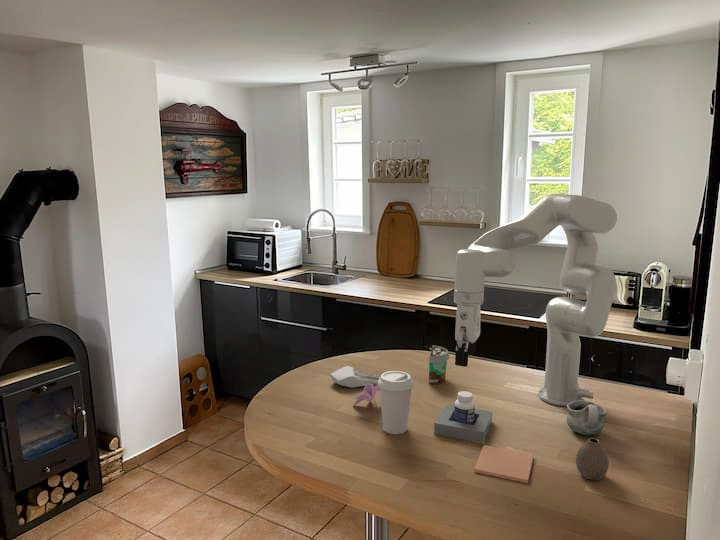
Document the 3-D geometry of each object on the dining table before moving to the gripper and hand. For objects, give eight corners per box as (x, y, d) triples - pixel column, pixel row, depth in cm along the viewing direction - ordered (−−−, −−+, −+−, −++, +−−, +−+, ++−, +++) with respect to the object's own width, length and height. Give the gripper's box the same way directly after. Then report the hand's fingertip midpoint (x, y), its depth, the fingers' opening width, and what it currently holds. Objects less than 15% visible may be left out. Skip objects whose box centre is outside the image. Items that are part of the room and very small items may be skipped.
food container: (447, 387, 175) (448, 358, 174) (428, 386, 177) (429, 356, 175) (449, 373, 187) (450, 346, 186) (431, 372, 189) (432, 344, 187)
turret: (390, 395, 175) (393, 381, 175) (329, 388, 173) (332, 374, 172) (386, 383, 185) (388, 370, 184) (328, 376, 183) (330, 363, 182)
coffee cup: (388, 440, 141) (389, 385, 138) (370, 425, 149) (371, 373, 147) (419, 432, 145) (420, 379, 143) (400, 418, 154) (401, 367, 151)
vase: (569, 468, 128) (572, 433, 127) (597, 467, 129) (600, 432, 127) (583, 484, 121) (586, 448, 120) (613, 483, 122) (616, 447, 120)
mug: (595, 423, 151) (598, 389, 149) (616, 446, 138) (619, 409, 137) (560, 423, 151) (562, 389, 149) (578, 446, 138) (581, 409, 137)
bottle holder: (491, 421, 152) (492, 411, 151) (483, 443, 140) (483, 432, 139) (446, 413, 157) (446, 403, 156) (434, 433, 145) (434, 423, 144)
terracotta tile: (533, 457, 133) (533, 454, 133) (527, 483, 122) (528, 480, 122) (483, 448, 137) (483, 445, 137) (474, 471, 126) (474, 468, 126)
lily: (390, 404, 165) (379, 376, 167) (397, 404, 155) (385, 375, 156) (357, 418, 163) (346, 390, 164) (362, 420, 153) (350, 390, 154)
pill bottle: (469, 434, 145) (471, 399, 143) (450, 429, 147) (451, 395, 146) (476, 426, 149) (478, 392, 147) (458, 421, 152) (459, 388, 150)
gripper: (476, 305, 132) (472, 372, 135) (489, 292, 148) (485, 352, 151) (446, 302, 135) (443, 368, 138) (461, 289, 151) (458, 348, 154)
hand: (465, 359), depth 144 cm, fingers open, 9 cm apart
